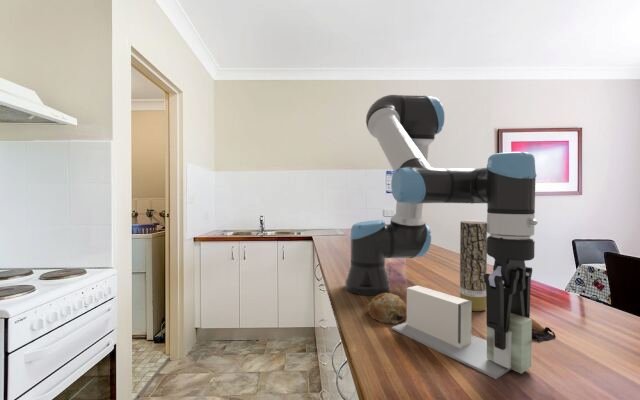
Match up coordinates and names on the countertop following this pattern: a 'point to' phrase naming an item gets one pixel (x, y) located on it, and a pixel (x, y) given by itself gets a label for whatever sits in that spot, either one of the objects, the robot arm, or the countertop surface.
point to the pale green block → (515, 343)
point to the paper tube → (473, 262)
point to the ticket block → (446, 328)
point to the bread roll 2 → (541, 332)
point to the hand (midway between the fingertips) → (508, 360)
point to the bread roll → (388, 308)
